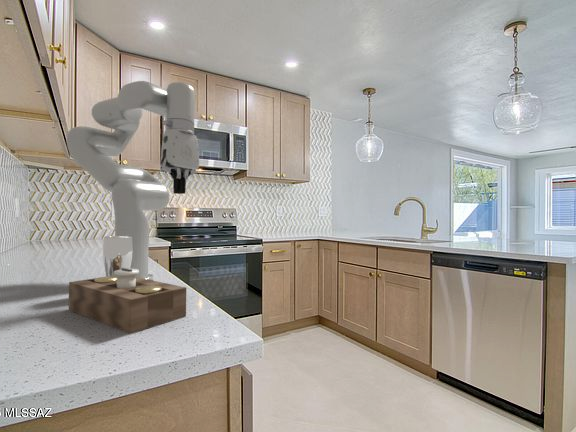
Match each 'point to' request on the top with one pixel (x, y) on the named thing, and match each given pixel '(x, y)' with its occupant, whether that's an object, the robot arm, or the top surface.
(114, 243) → the beer glass
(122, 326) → the block
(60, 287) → the top surface
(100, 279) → the brass knob
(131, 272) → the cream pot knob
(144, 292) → the brass knob
